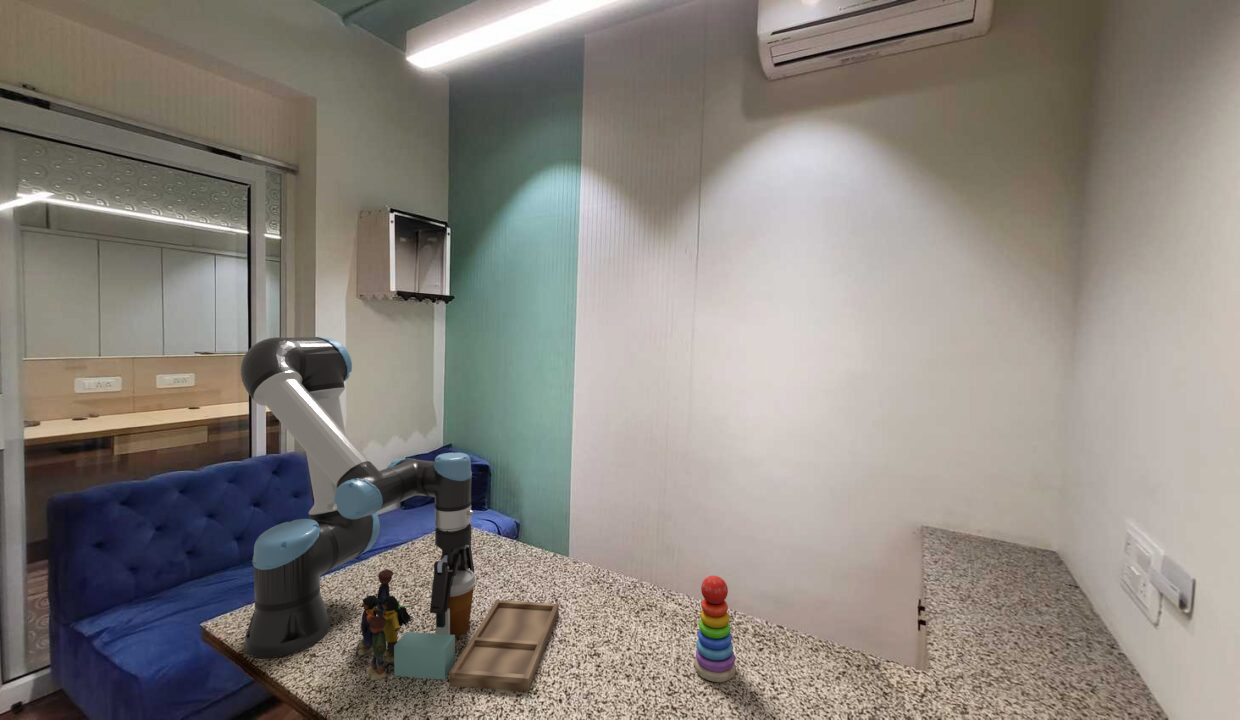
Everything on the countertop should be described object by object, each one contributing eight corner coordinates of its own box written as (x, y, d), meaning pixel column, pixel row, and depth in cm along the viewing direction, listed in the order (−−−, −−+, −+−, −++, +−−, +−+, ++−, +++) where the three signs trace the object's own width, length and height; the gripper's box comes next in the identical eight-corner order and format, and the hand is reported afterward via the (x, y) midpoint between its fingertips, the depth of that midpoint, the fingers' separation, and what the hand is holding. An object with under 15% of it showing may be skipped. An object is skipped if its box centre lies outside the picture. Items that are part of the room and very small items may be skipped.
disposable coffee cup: (447, 649, 103) (447, 592, 102) (421, 632, 108) (421, 578, 108) (485, 628, 110) (485, 575, 110) (459, 613, 116) (459, 563, 116)
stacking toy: (706, 652, 103) (708, 563, 102) (742, 668, 98) (744, 575, 97) (686, 671, 97) (688, 577, 96) (723, 690, 92) (725, 591, 91)
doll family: (343, 631, 109) (343, 571, 108) (387, 616, 115) (387, 559, 114) (374, 688, 91) (373, 617, 91) (424, 667, 97) (423, 600, 97)
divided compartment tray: (449, 685, 92) (449, 672, 92) (496, 610, 118) (496, 600, 117) (528, 691, 91) (528, 678, 91) (558, 614, 116) (558, 603, 116)
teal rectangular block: (394, 676, 95) (394, 645, 94) (406, 661, 99) (406, 631, 99) (444, 680, 94) (444, 649, 94) (455, 664, 98) (454, 635, 98)
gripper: (447, 548, 97) (447, 658, 98) (488, 508, 119) (488, 598, 120) (410, 546, 97) (411, 656, 98) (458, 506, 120) (458, 596, 121)
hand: (453, 624), depth 109 cm, fingers open, 10 cm apart
